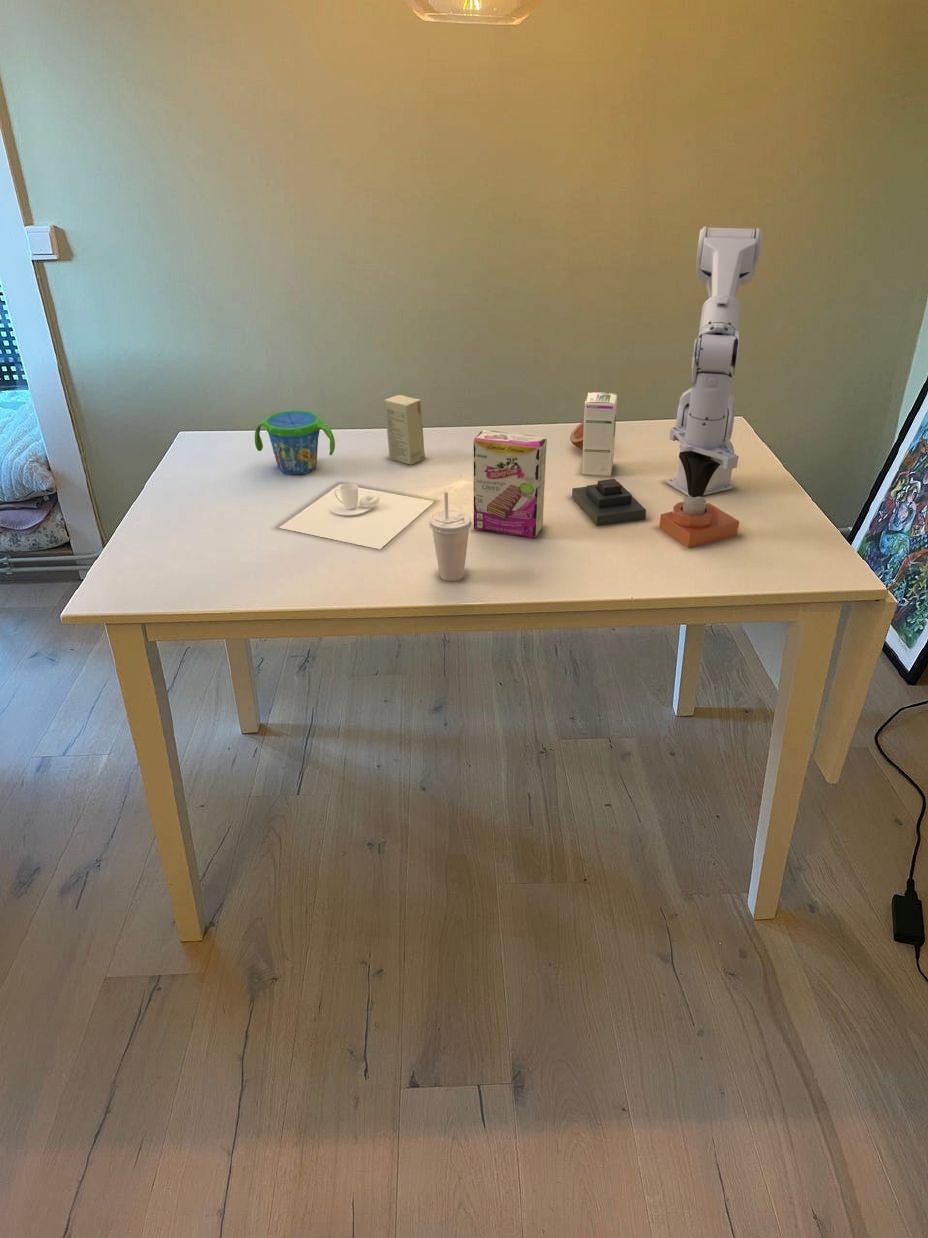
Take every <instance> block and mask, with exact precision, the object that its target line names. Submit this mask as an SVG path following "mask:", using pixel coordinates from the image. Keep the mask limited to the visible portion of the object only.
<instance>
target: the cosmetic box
mask: <svg viewBox="0 0 928 1238" xmlns="http://www.w3.org/2000/svg"><path fill="white" fill-rule="evenodd" d="M383 400H384V410H385V412H384V413H385V423H386V435H387V444H388V445H387V446H388V447H387V448H388V456H389V457H388V458H389V459H390V460H393V461H397V462H400V463H403V464H406V465H409V466H410V465H413V464H416V463H418V462H420V461H423V460H424V459H426V457H425V455H426V454H425V443H424V440H425V439H424V425H423V414H422V413H423V410H422V400H421V399H419V398H416V397H410V396H407V395H402V394H397V395H394V396H392V397H389V398H386V399H383Z"/></svg>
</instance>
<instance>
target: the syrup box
mask: <svg viewBox="0 0 928 1238" xmlns="http://www.w3.org/2000/svg"><path fill="white" fill-rule="evenodd" d="M617 404H618V394H617V393H615V392H614V393H613V392H606V391H605V392H602V391H601V392H587V394H586V398H585V401H584V410H583V411H584V414H583V421H584V432H583V449H582V456H581V457H582V459H581V474H582V475H586V476H598V477H599V476H600V477H611V475H612V473H613V467H614V456H615V443H616V442H615V441H616V428H617V427H616V426H617V411H618V410H617V407H618V405H617Z"/></svg>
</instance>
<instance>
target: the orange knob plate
mask: <svg viewBox="0 0 928 1238" xmlns="http://www.w3.org/2000/svg"><path fill="white" fill-rule="evenodd" d="M683 502H684V501H681V502H677V503H676V504H674V505H673V507H672V510H671V511H669V512H664V513H661V514H660V518H659V527H658V528H659V530H661V531H662V532H663V533H664V534H666V535H668V536H670V537H671V538H672V539H674V540H675V541H677V542H678V543H680V544H681V545H682V546H684V547H685V548H687V549H691V548H694V547H697V546H702V545H706V544H710V543H714V542H717V541H721V540H725V539H730V538H733V537H737V536H738V534H739V533H738V531H739V526H740V520H738V519H736V518H735V517H733V516H732V515H730V514H728V513H726V512H725V511H723V510H721V509H720V508H718V507H716V506H715V505H713V504H712V503H710V502H706V507H705V513H704V514H702V515H690V514H686V513H684V512H683V511H682V509H683Z"/></svg>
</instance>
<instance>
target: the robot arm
mask: <svg viewBox="0 0 928 1238" xmlns="http://www.w3.org/2000/svg"><path fill="white" fill-rule="evenodd" d="M762 240H763V231H762V230H761V228H760V227H756V228H742V227H741V228H739V227H708V226H705V225H704V226H703V227H702V228H701V229H700V230H699V236H698V242H697V250H696V259H695V265H696V268H695V275H696V276H697V277H696V281H697V282H700V283H702V284H704V286H706V290H707V295H708V299H707V300H705V302H704V303H703V305H702V307H701V315H700V322H699V329H698V336H696V337H695V339H694V345H693V350H692V351H693V352H692V358H691V383H690V385H691V387H690V388H688V389H686V390H685V391H683V392H682V395H681V396H680V397H679V402H678V403H679V404H678V406H677V413H676V421H675V426H673V427H670V429H669V440H670V441H672V442H676V441H677V442H679V446H678V448H679V454H678V465H677V471H676V477H675V478H669V479H666V480H665V483H666V484H667V485H669V486H670V487H672V488H674V489H675V490H677V491H679V492H680V493H682V494H684V495H685V496H686V497H688V496H691V497H693V498H695V497H703V496H707V495H711V494H717V493H720V492H725V491H730V490H732V489H733V487H734V486H733V485H732V484H731V481H732V475H733V474H732V473H733V469H737V467H738V463H739V458H740V457H739V455H737V454H736V453H735V448H734V444H733V443H732V441H731V439H732V437H733V436H732V435H733V431H734V422H735V415H736V404H737V403H736V400H735V396H734V395H733V394H732V393H731V388H732V382H733V381H732V380H733V376H735V374H736V372H737V368H738V365H739V364H738V363H739V357H740V350H741V349H740V348H741V337H740V330H739V328H740V318H741V309H742V308H741V304H740V302H739V301H738V299H736V296H737V294H738V291H739V290H740V288H741V287H743V286H745V285H747V284H750V283H752V281H753V278H754V277H755V275H756V274H755V273H756V269H757V267H758V265H759V259H760V253H761V247H762ZM731 368H732V369H733V371H732V372H731Z"/></svg>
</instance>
